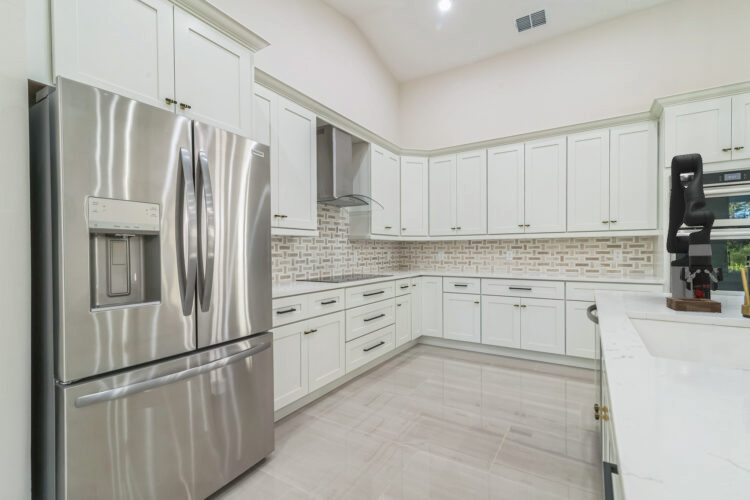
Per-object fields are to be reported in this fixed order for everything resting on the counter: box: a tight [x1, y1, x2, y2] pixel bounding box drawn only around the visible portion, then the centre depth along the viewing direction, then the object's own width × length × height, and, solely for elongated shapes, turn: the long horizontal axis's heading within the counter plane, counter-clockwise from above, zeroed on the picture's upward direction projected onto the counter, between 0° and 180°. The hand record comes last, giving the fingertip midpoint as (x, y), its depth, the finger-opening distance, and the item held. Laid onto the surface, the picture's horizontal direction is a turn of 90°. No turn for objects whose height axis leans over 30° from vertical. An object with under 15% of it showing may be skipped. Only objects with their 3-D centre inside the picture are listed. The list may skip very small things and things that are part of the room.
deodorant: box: [692, 273, 712, 300], centre depth 156 cm, size 6×6×15 cm
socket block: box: [665, 297, 722, 314], centre depth 148 cm, size 14×14×4 cm
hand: (701, 290), depth 156 cm, fingers open, 8 cm apart
